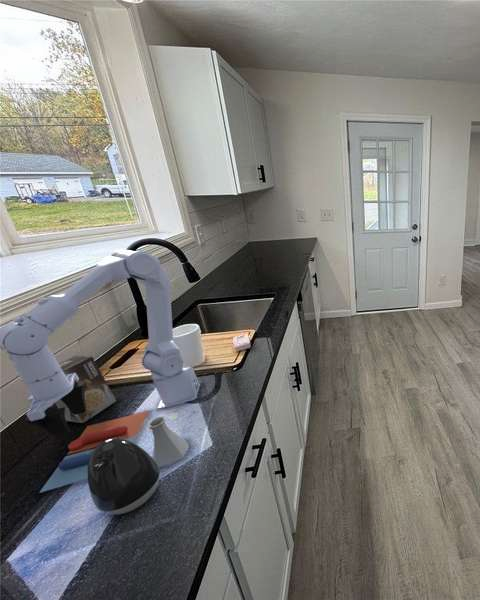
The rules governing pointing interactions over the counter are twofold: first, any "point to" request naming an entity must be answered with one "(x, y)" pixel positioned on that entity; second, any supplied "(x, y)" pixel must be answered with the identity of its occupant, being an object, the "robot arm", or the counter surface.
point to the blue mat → (69, 473)
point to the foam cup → (189, 344)
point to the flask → (166, 443)
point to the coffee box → (87, 387)
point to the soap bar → (241, 342)
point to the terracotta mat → (129, 421)
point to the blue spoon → (74, 461)
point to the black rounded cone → (121, 476)
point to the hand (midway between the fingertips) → (72, 423)
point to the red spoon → (96, 437)
